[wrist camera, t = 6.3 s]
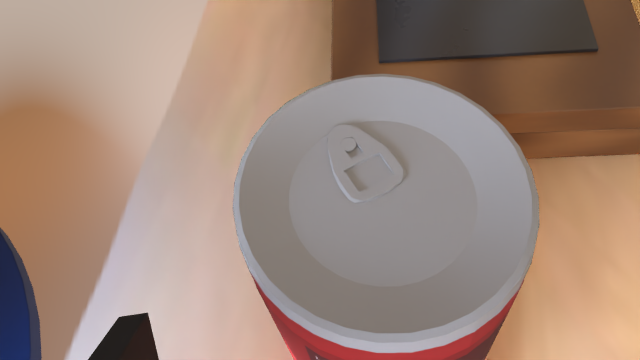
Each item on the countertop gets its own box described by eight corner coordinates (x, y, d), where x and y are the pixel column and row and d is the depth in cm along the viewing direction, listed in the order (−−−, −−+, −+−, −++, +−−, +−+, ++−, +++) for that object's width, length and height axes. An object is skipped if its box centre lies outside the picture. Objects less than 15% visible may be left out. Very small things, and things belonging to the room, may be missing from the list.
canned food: (377, 209, 27) (369, 30, 18) (524, 328, 24) (612, 183, 14) (250, 327, 25) (166, 192, 15) (394, 480, 21) (396, 423, 12)
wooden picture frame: (336, 165, 29) (330, 118, 25) (337, -48, 37) (333, -103, 34) (640, 154, 27) (673, 102, 24) (569, -65, 36) (586, -124, 33)
